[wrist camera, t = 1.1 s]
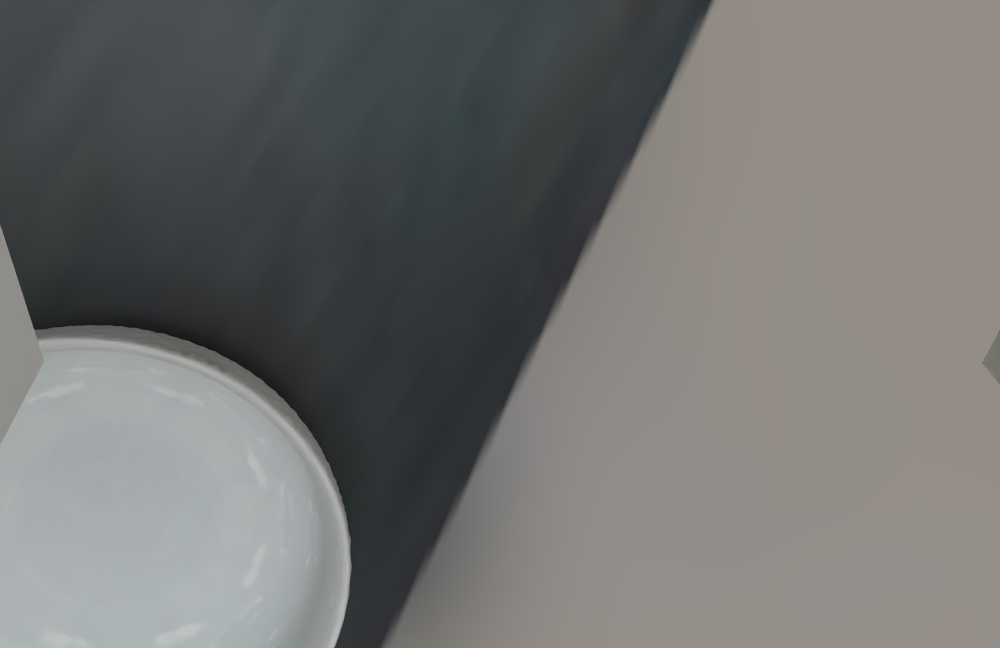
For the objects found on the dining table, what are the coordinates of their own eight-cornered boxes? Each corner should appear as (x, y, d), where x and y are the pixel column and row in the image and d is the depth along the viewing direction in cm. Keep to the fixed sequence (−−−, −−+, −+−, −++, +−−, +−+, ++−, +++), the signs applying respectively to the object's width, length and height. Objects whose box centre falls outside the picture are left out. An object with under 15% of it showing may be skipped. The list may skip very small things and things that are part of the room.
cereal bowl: (418, 481, 37) (451, 556, 31) (148, 757, 37) (121, 896, 30) (99, 204, 32) (54, 223, 25) (-225, 526, 31) (-359, 633, 25)
